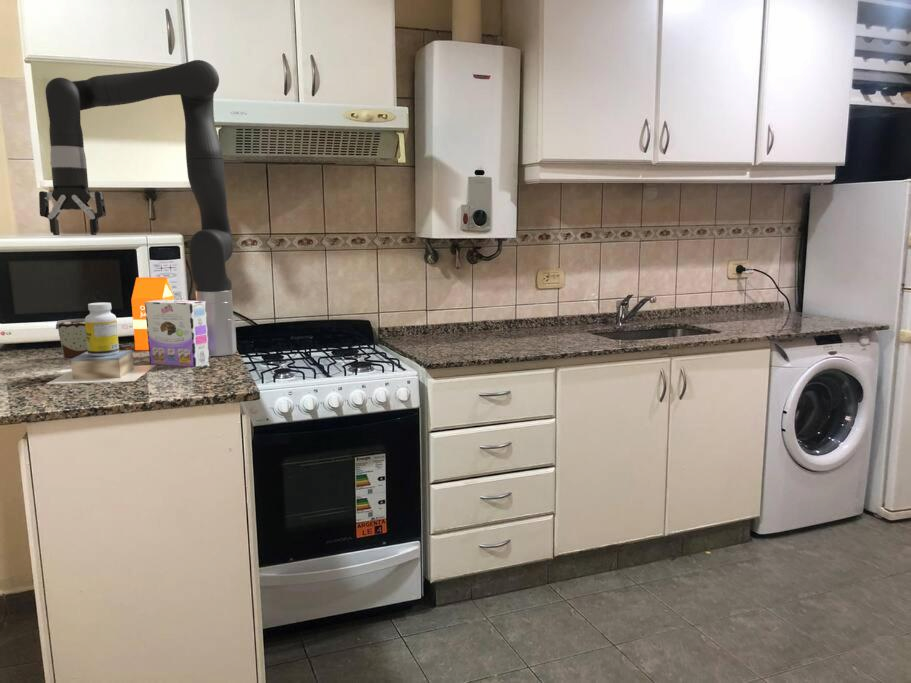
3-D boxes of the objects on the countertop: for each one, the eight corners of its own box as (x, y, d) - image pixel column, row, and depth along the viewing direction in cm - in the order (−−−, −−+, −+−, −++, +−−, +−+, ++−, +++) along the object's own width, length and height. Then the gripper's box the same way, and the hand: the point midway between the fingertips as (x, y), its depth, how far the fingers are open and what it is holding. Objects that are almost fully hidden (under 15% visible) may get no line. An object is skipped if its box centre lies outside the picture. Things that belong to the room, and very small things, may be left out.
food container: (116, 355, 191) (113, 318, 189) (103, 360, 185) (100, 321, 183) (73, 354, 192) (69, 318, 190) (58, 359, 186) (54, 321, 184)
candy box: (210, 366, 176) (207, 300, 174) (195, 371, 171) (190, 302, 168) (165, 363, 181) (161, 298, 178) (148, 367, 175) (143, 300, 172)
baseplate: (156, 369, 173) (156, 365, 173) (134, 385, 155) (134, 381, 155) (77, 371, 170) (77, 367, 170) (46, 388, 153) (45, 383, 153)
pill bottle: (94, 352, 165) (90, 302, 163) (123, 351, 166) (120, 301, 164) (82, 357, 159) (78, 305, 157) (112, 356, 159) (108, 305, 157)
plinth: (133, 368, 168) (132, 350, 168) (120, 377, 159) (119, 357, 158) (88, 370, 167) (87, 351, 166) (72, 379, 157) (70, 359, 156)
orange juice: (166, 350, 199) (161, 278, 196) (134, 350, 199) (129, 278, 196) (177, 345, 207) (172, 276, 204) (147, 345, 207) (141, 276, 204)
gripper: (105, 168, 176) (111, 234, 178) (43, 167, 174) (50, 235, 176) (95, 165, 169) (100, 235, 171) (30, 165, 166) (37, 235, 169)
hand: (75, 235), depth 174 cm, fingers open, 8 cm apart
